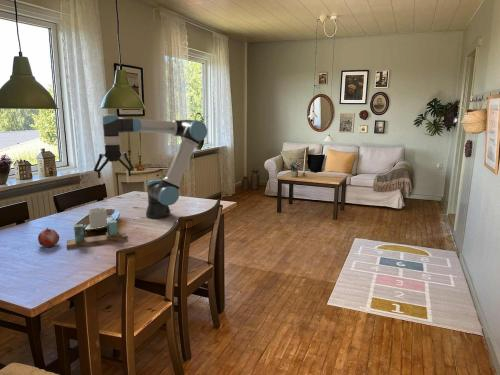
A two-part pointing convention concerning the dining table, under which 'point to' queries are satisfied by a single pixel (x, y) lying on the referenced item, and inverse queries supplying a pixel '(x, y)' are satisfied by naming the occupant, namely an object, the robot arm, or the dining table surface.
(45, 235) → the fruit
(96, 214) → the grey rounded block
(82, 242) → the rail
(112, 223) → the teal rectangular block
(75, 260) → the dining table surface
